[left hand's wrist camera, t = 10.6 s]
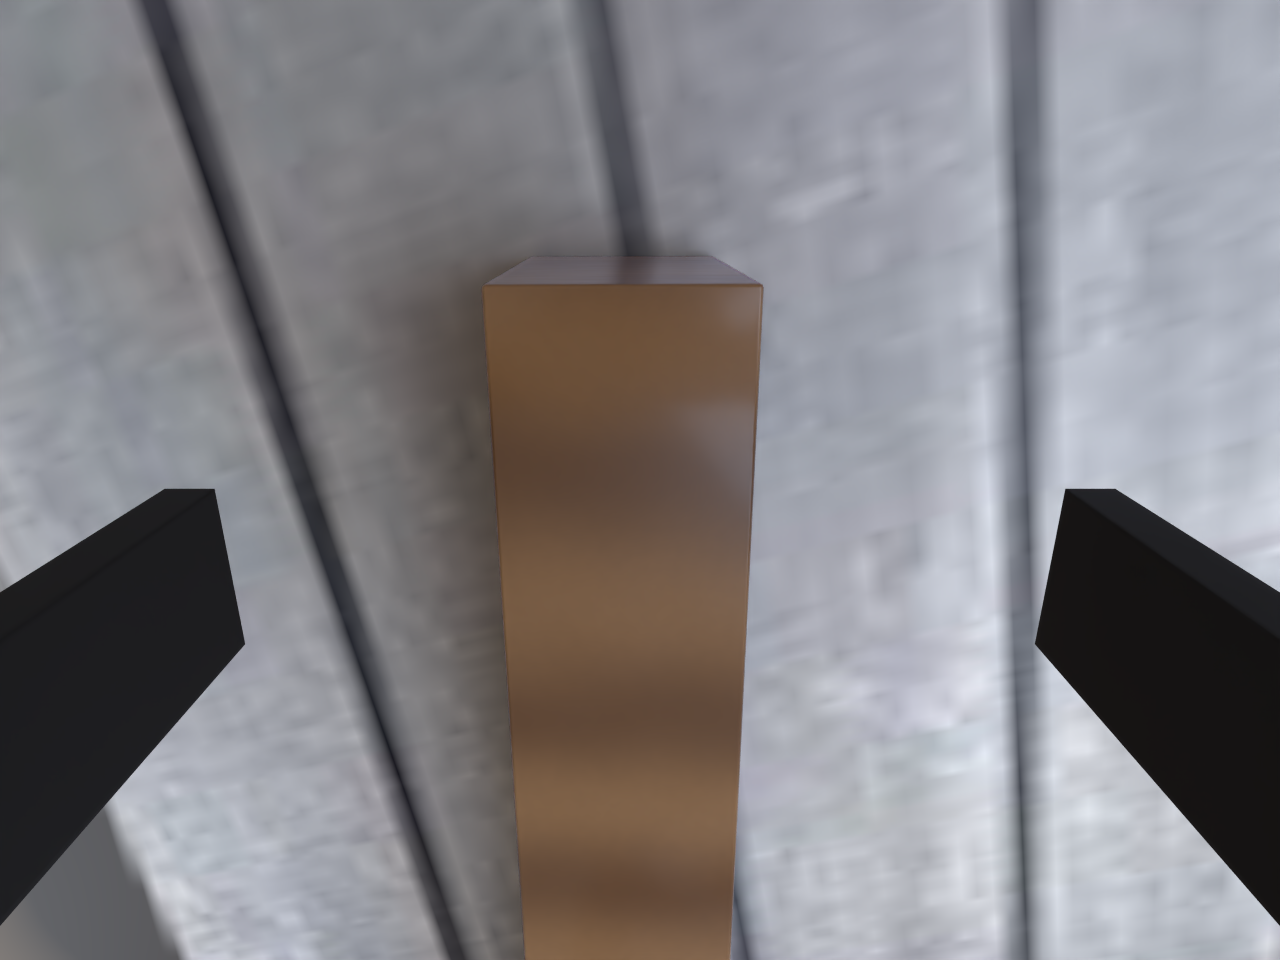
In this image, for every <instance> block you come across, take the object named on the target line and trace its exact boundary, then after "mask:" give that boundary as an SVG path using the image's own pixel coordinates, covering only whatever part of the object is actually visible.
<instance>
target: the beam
mask: <svg viewBox="0 0 1280 960" xmlns="http://www.w3.org/2000/svg"><path fill="white" fill-rule="evenodd" d="M763 290H764V288H763V285H762V284H760V283H759V282H757V281H755V280H753V279H752V278H750V277H748V276H747V275H745V274H743V273H741V272H740V271H738V270H736V269H734V268H733V267H731V266H729V265H727V264H726V263H724V262H722V261H720V260H719V259H717V258H715V257H713V256H567V257H530V258H528V259H526V260H525V261H523V262H521V263H520V264H518V265H516V266H514V267H513V268H511V269H509V270H508V271H506V272H504V273H503V274H501V275H499V276H497V277H496V278H494V279H492V280H491V281H489V282H487V283H486V284H484V285H482V288H481V291H482V306H483V322H484V337H485V353H486V368H487V384H488V399H489V415H490V430H491V446H492V461H493V477H494V492H495V508H496V523H497V539H498V554H499V570H500V585H501V601H502V616H503V632H504V647H505V663H506V678H507V693H508V709H509V724H510V740H511V755H512V771H513V786H514V802H515V817H516V833H517V848H518V864H519V879H520V895H521V910H522V926H523V941H524V957H525V960H730V953H731V933H732V913H733V893H734V873H735V853H736V833H737V813H738V793H739V772H740V752H741V732H742V712H743V692H744V672H745V652H746V632H747V612H748V591H749V571H750V551H751V531H752V511H753V491H754V471H755V451H756V431H757V410H758V390H759V370H760V350H761V330H762V310H763Z"/></svg>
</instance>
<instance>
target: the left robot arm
mask: <svg viewBox="0 0 1280 960" xmlns="http://www.w3.org/2000/svg"><path fill="white" fill-rule="evenodd" d="M244 645H245V641H244V636H243V631H242V626H241V621H240V616H239V611H238V606H237V601H236V596H235V590H234V585H233V580H232V575H231V570H230V565H229V560H228V555H227V550H226V545H225V540H224V535H223V529H222V524H221V519H220V514H219V509H218V504H217V499H216V494H215V489H164V490H162V491H161V492H159V493H158V494H156V495H154V496H153V497H151V498H150V499H148V500H146V501H145V502H143V503H142V504H140V505H138V506H137V507H135V508H134V509H132V510H130V511H129V512H127V513H126V514H124V515H123V516H121V517H119V518H118V519H116V520H115V521H113V522H111V523H110V524H108V525H107V526H105V527H103V528H102V529H100V530H99V531H97V532H96V533H94V534H92V535H91V536H89V537H88V538H86V539H84V540H83V541H81V542H80V543H78V544H76V545H75V546H73V547H72V548H70V549H68V550H67V551H65V552H64V553H62V554H61V555H59V556H57V557H56V558H54V559H53V560H51V561H49V562H48V563H46V564H45V565H43V566H41V567H40V568H38V569H37V570H35V571H34V572H32V573H30V574H29V575H27V576H26V577H24V578H22V579H21V580H19V581H18V582H16V583H14V584H13V585H11V586H10V587H8V588H6V589H5V590H3V591H2V592H0V925H1V924H2V923H3V922H4V921H5V920H6V918H7V917H8V916H9V915H10V914H11V913H12V911H13V910H14V909H15V908H16V907H17V906H18V905H19V903H20V902H21V901H22V900H23V899H24V898H25V896H26V895H27V894H28V893H29V892H30V891H31V890H32V889H33V887H34V886H35V885H36V884H37V883H38V882H39V880H40V879H41V878H42V877H43V876H44V875H45V874H46V872H47V871H48V870H49V869H50V868H51V867H52V865H53V864H54V863H55V862H56V861H57V860H58V858H59V857H60V856H61V855H62V854H63V853H64V852H65V851H66V849H67V848H68V847H69V846H70V845H71V844H72V843H73V841H74V840H75V839H76V838H77V837H78V836H79V834H80V833H81V832H82V831H83V830H84V829H85V827H86V826H87V825H88V824H89V823H90V822H91V821H92V819H93V818H94V817H95V816H96V815H97V814H98V813H99V811H100V810H101V809H102V808H103V807H104V806H105V805H106V803H107V802H108V801H109V800H110V799H111V798H112V797H113V795H114V794H115V793H116V792H117V791H118V790H119V788H120V787H121V786H122V785H123V784H124V783H125V782H126V780H127V779H128V778H129V777H130V776H131V775H132V774H133V772H134V771H135V770H136V769H137V768H138V767H139V765H140V764H141V763H142V762H143V761H144V760H145V759H146V757H147V756H148V755H149V754H150V753H151V752H152V751H153V749H154V748H155V747H156V746H157V745H158V744H159V742H160V741H161V740H162V739H163V738H164V737H165V736H166V734H167V733H168V732H169V731H170V730H171V729H172V728H173V726H174V725H175V724H176V723H177V722H178V721H179V719H180V718H181V717H182V716H183V715H184V714H185V713H186V711H187V710H188V709H189V708H190V707H191V706H192V705H193V703H194V702H195V701H196V700H197V699H198V698H199V696H200V695H201V694H202V693H203V692H204V691H205V690H206V688H207V687H208V686H209V685H210V684H211V683H212V682H213V680H214V679H215V678H216V677H217V676H218V675H219V673H220V672H221V671H222V670H223V669H224V668H225V667H226V665H227V664H228V663H229V662H230V661H231V660H232V659H233V657H234V656H235V655H236V654H237V653H238V652H239V650H240V649H241V648H242V647H243V646H244ZM1035 645H1036V646H1037V647H1038V648H1039V649H1040V650H1041V652H1042V653H1043V654H1044V655H1045V656H1046V657H1047V659H1048V660H1049V661H1050V662H1051V663H1052V664H1053V665H1054V667H1055V668H1056V669H1057V670H1058V671H1059V672H1060V673H1061V675H1062V676H1063V677H1064V678H1065V679H1066V680H1067V682H1068V683H1069V684H1070V685H1071V686H1072V687H1073V688H1074V690H1075V691H1076V692H1077V693H1078V694H1079V695H1080V696H1081V698H1082V699H1083V700H1084V701H1085V702H1086V703H1087V705H1088V706H1089V707H1090V708H1091V709H1092V710H1093V711H1094V713H1095V714H1096V715H1097V716H1098V717H1099V718H1100V719H1101V721H1102V722H1103V723H1104V724H1105V725H1106V726H1107V728H1108V729H1109V730H1110V731H1111V732H1112V733H1113V734H1114V736H1115V737H1116V738H1117V739H1118V740H1119V741H1120V742H1121V744H1122V745H1123V746H1124V747H1125V748H1126V749H1127V751H1128V752H1129V753H1130V754H1131V755H1132V756H1133V757H1134V759H1135V760H1136V761H1137V762H1138V763H1139V764H1140V765H1141V767H1142V768H1143V769H1144V770H1145V771H1146V772H1147V774H1148V775H1149V776H1150V777H1151V778H1152V779H1153V780H1154V782H1155V783H1156V784H1157V785H1158V786H1159V787H1160V788H1161V790H1162V791H1163V792H1164V793H1165V794H1166V795H1167V797H1168V798H1169V799H1170V800H1171V801H1172V802H1173V803H1174V805H1175V806H1176V807H1177V808H1178V809H1179V810H1180V811H1181V813H1182V814H1183V815H1184V816H1185V817H1186V818H1187V820H1188V821H1189V822H1190V823H1191V824H1192V825H1193V826H1194V828H1195V829H1196V830H1197V831H1198V832H1199V833H1200V834H1201V836H1202V837H1203V838H1204V839H1205V840H1206V841H1207V843H1208V844H1209V845H1210V846H1211V847H1212V848H1213V849H1214V851H1215V852H1216V853H1217V854H1218V855H1219V856H1220V857H1221V859H1222V860H1223V861H1224V862H1225V863H1226V864H1227V866H1228V867H1229V868H1230V869H1231V870H1232V871H1233V872H1234V874H1235V875H1236V876H1237V877H1238V878H1239V879H1240V880H1241V882H1242V883H1243V884H1244V885H1245V886H1246V887H1247V889H1248V890H1249V891H1250V892H1251V893H1252V894H1253V895H1254V897H1255V898H1256V899H1257V900H1258V901H1259V902H1260V903H1261V905H1262V906H1263V907H1264V908H1265V909H1266V910H1267V912H1268V913H1269V914H1270V915H1271V916H1272V917H1273V918H1274V920H1275V921H1276V922H1277V923H1278V924H1279V925H1280V592H1278V591H1277V590H1275V589H1274V588H1272V587H1270V586H1269V585H1267V584H1266V583H1264V582H1262V581H1261V580H1259V579H1258V578H1256V577H1254V576H1253V575H1251V574H1250V573H1248V572H1246V571H1245V570H1243V569H1242V568H1240V567H1239V566H1237V565H1235V564H1234V563H1232V562H1231V561H1229V560H1227V559H1226V558H1224V557H1223V556H1221V555H1219V554H1218V553H1216V552H1215V551H1213V550H1212V549H1210V548H1208V547H1207V546H1205V545H1204V544H1202V543H1200V542H1199V541H1197V540H1196V539H1194V538H1192V537H1191V536H1189V535H1188V534H1186V533H1184V532H1183V531H1181V530H1180V529H1178V528H1177V527H1175V526H1173V525H1172V524H1170V523H1169V522H1167V521H1165V520H1164V519H1162V518H1161V517H1159V516H1157V515H1156V514H1154V513H1153V512H1151V511H1150V510H1148V509H1146V508H1145V507H1143V506H1142V505H1140V504H1138V503H1137V502H1135V501H1134V500H1132V499H1130V498H1129V497H1127V496H1126V495H1124V494H1122V493H1121V492H1119V491H1118V490H1116V489H1065V494H1064V499H1063V504H1062V509H1061V514H1060V519H1059V524H1058V529H1057V535H1056V540H1055V545H1054V550H1053V555H1052V560H1051V565H1050V570H1049V575H1048V580H1047V585H1046V590H1045V596H1044V601H1043V606H1042V611H1041V616H1040V621H1039V626H1038V631H1037V636H1036V641H1035Z"/></svg>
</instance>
